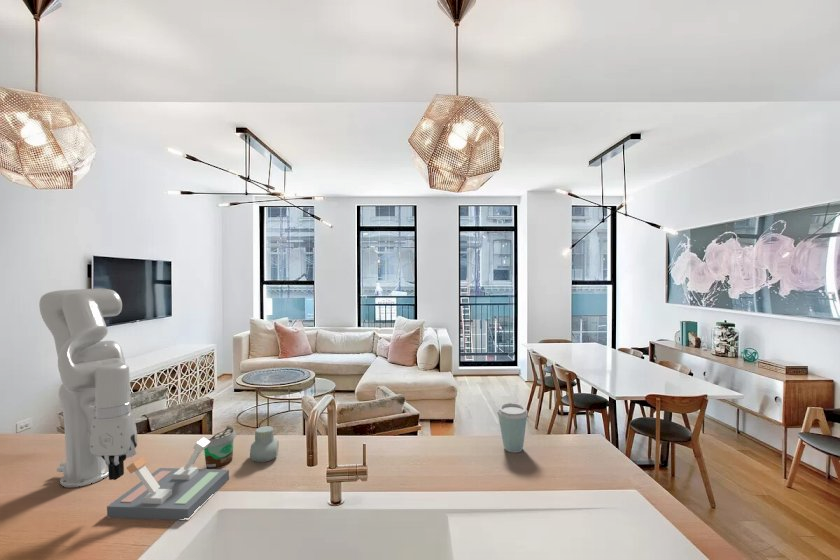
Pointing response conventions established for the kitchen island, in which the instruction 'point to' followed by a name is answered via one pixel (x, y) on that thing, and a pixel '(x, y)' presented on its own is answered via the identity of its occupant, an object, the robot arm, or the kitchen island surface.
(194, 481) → the switch panel
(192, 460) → the lever
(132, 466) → the lever
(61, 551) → the kitchen island surface
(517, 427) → the disposable coffee cup
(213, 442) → the food container
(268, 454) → the air freshener
